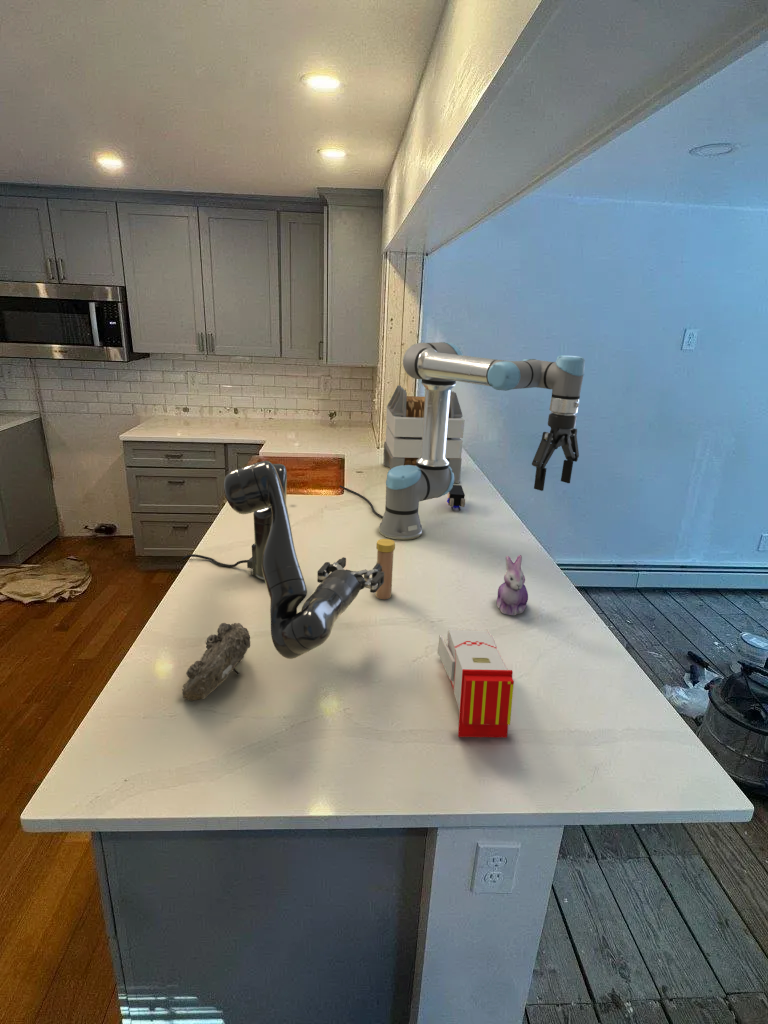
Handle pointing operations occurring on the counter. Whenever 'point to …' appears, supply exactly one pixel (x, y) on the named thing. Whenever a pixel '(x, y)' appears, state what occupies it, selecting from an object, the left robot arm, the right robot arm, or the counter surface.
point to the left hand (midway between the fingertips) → (361, 564)
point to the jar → (385, 574)
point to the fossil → (217, 660)
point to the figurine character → (456, 497)
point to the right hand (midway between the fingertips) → (552, 485)
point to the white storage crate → (419, 431)
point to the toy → (478, 682)
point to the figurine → (512, 589)
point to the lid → (385, 545)
